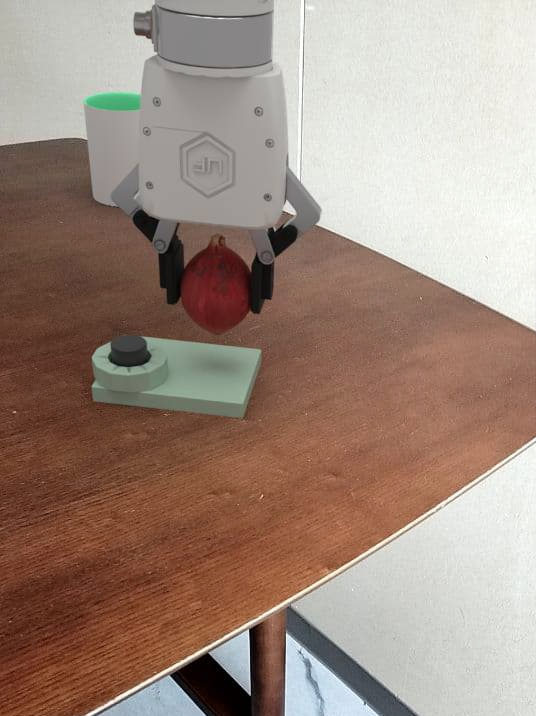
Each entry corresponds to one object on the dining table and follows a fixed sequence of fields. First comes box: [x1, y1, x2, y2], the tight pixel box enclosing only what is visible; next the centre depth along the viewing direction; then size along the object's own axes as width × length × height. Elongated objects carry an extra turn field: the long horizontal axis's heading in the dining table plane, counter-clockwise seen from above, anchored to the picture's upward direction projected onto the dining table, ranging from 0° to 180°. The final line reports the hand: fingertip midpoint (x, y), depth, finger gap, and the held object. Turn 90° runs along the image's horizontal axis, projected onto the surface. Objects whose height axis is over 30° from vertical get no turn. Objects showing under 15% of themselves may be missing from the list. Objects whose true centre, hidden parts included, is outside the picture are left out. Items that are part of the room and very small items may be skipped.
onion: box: [180, 232, 251, 336], centre depth 67 cm, size 6×6×8 cm
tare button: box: [109, 334, 148, 367], centre depth 68 cm, size 3×3×2 cm
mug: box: [83, 91, 141, 208], centre depth 102 cm, size 12×8×10 cm, turn 13°
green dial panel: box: [90, 335, 262, 419], centre depth 70 cm, size 12×9×3 cm
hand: (217, 299), depth 67 cm, fingers closed on onion, 5 cm apart
